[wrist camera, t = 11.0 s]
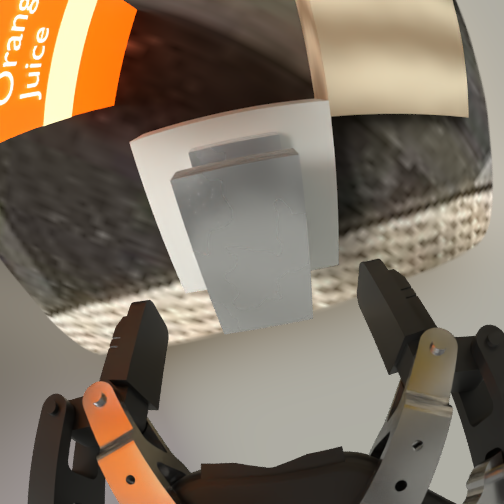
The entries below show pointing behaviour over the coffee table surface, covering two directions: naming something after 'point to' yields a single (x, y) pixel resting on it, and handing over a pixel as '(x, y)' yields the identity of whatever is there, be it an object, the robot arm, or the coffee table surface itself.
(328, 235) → the stand
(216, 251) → the block
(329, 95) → the stand
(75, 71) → the orange juice
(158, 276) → the coffee table surface
